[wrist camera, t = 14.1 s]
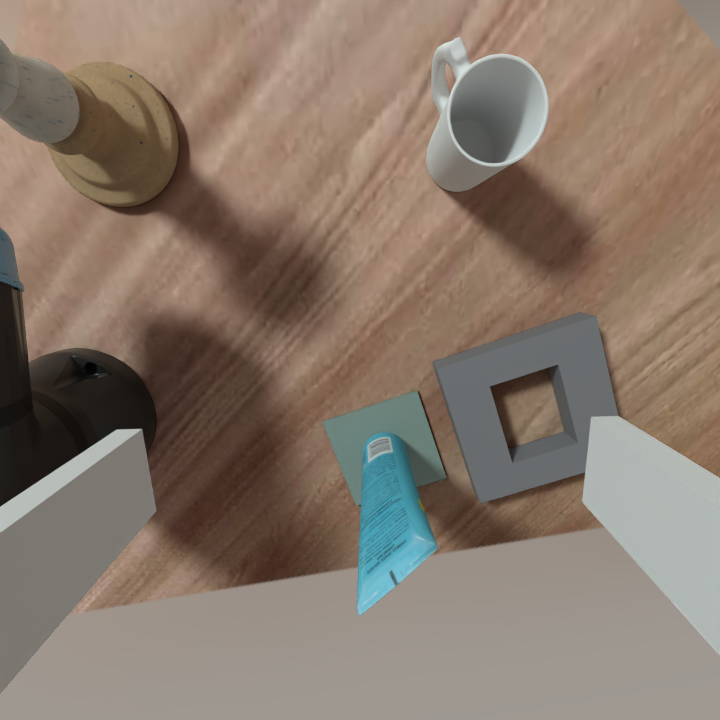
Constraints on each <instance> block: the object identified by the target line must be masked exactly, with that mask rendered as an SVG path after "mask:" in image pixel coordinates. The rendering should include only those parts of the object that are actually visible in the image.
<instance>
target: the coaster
mask: <svg viewBox="0 0 720 720" xmlns="http://www.w3.org/2000/svg"><path fill="white" fill-rule="evenodd" d="M323 425H324V427H325V430H326V432H327V435H328V437H329V440H330V442H331V445H332V447H333V450H334V452H335V455H336V457H337V459H338V462H339V464H340V467H341V469H342V472H343V474H344V477H345V479H346V482H347V484H348V487H349V489H350V492H351V494H352V497H353V499H354V502H355V504H356V506H357V505H361V492H362V461H363V448H364V445H365V443H366V442H367V440H368V439H369V438H370V437H372V436H373V435H375V434H378V433H383V432H388V433H392V434H394V435H396V436H398V437H399V438H400V439H401V440H402V441H403V442H404V444H405V447H406V450H407V454H408V458H409V462H410V466H411V469H412V473H413V476H414V479H415V483H416V486H417V487H420V486H423V485H426V484H429V483H433V482H436V481H439V480H442V479H446V478H447V477H446V474H445V471H444V469H443V466H442V463H441V460H440V457H439V454H438V451H437V448H436V445H435V442H434V439H433V436H432V433H431V430H430V427H429V424H428V421H427V418H426V415H425V412H424V409H423V406H422V403H421V401H420V398H419V395H418V392H417V390H416V391H413V392H410V393H407V394H404V395H401V396H398V397H395V398H392V399H389V400H386V401H383V402H380V403H377V404H374V405H371V406H368V407H365V408H362V409H359V410H356V411H353V412H350V413H347V414H344V415H341V416H338V417H334V418H331V419H328V420H325V421H323Z"/></svg>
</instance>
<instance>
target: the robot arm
mask: <svg viewBox="0 0 720 720" xmlns="http://www.w3.org/2000/svg"><path fill="white" fill-rule="evenodd" d="M23 291H24V286H23V284H22V283H21V282H20V280H19V275H18V270H17V264H16V258H15V252H14V246H13V243H12V241H11V239H10V237H9V236H8V234H7V233H6V232H5V231H4V230H3V229H2V228H0V693H1V692H2V691H3V690H4V689H5V688H6V687H7V685H8V684H9V683H10V682H11V681H12V680H13V678H14V677H15V676H16V675H17V674H18V672H19V671H20V670H21V669H22V668H23V667H24V665H25V664H26V663H27V662H28V661H29V660H30V658H31V657H32V656H33V655H34V654H35V653H36V651H37V650H38V649H39V648H40V647H41V645H42V644H43V643H44V642H45V641H46V640H47V639H48V637H49V636H50V635H51V634H52V633H53V632H54V630H55V629H56V628H57V627H58V626H59V624H60V623H61V622H62V621H63V620H64V619H65V617H66V616H67V615H68V614H69V613H70V612H71V610H72V609H73V608H74V607H75V606H76V605H77V603H78V602H79V601H80V600H81V599H82V598H83V596H84V595H85V594H86V593H87V592H88V591H89V589H90V588H91V587H92V586H93V585H94V584H95V582H96V581H97V580H98V579H99V578H100V577H101V575H102V574H103V573H104V572H105V571H106V570H107V568H108V567H109V566H110V565H111V564H112V563H113V561H114V560H115V559H116V558H117V557H118V555H119V554H120V553H121V552H122V551H123V550H124V548H125V547H126V546H127V545H128V544H129V543H130V541H131V540H132V539H133V538H134V537H135V536H136V534H137V533H138V532H139V531H140V530H141V529H142V527H143V526H144V525H145V524H146V523H147V522H148V520H149V519H150V518H151V517H152V516H153V515H154V513H155V512H156V505H155V500H154V494H153V488H152V482H151V477H150V471H149V465H148V460H147V454H146V453H147V451H148V450H149V448H150V446H151V444H152V442H153V439H154V436H155V431H156V414H155V408H154V404H153V401H152V399H151V396H150V394H149V392H148V390H147V388H146V387H145V385H144V384H143V382H142V381H141V380H140V378H139V377H138V376H137V375H136V374H135V373H134V372H133V371H132V370H131V369H130V368H129V367H127V366H126V365H125V364H124V363H122V362H121V361H119V360H117V359H116V358H114V357H112V356H110V355H107V354H105V353H102V352H99V351H96V350H91V349H83V348H72V349H65V350H61V351H57V352H54V353H50V354H47V355H44V356H41V357H39V358H37V359H35V360H33V361H31V362H28V351H27V341H26V331H25V320H24V310H23V299H22V292H23ZM582 502H583V503H584V504H585V506H586V507H587V508H588V509H589V510H590V511H591V512H592V513H593V515H594V516H595V517H596V518H597V519H598V520H599V521H600V522H601V523H602V525H603V526H604V527H605V528H606V529H607V530H608V531H609V532H610V533H611V534H612V536H613V537H614V538H615V539H616V540H617V541H618V542H619V543H620V545H621V546H622V547H623V548H624V549H625V550H626V551H627V552H628V554H629V555H630V556H631V557H632V558H633V559H634V560H635V561H636V562H637V564H638V565H639V566H640V567H641V568H642V569H643V570H644V571H645V573H646V574H647V575H648V576H649V577H650V578H651V579H652V580H653V582H654V583H655V584H656V585H657V586H658V587H659V588H660V589H661V590H662V592H663V593H664V594H665V595H666V596H667V597H668V598H669V599H670V601H671V602H672V603H673V604H674V605H675V606H676V607H677V608H678V609H679V610H680V612H681V613H682V614H683V615H684V616H685V617H686V618H687V620H688V621H689V622H690V623H691V624H692V625H693V626H694V627H695V628H696V630H698V632H699V633H700V634H701V635H702V636H703V637H704V638H705V640H706V641H707V642H708V643H709V644H710V645H711V646H712V647H713V649H714V650H715V651H716V652H717V653H718V654H719V655H720V478H719V477H717V476H715V475H714V474H712V473H710V472H709V471H707V470H706V469H704V468H702V467H701V466H699V465H697V464H696V463H694V462H692V461H691V460H689V459H688V458H686V457H684V456H683V455H681V454H679V453H678V452H676V451H675V450H673V449H671V448H670V447H668V446H666V445H665V444H663V443H661V442H660V441H658V440H657V439H655V438H653V437H652V436H650V435H648V434H647V433H645V432H643V431H642V430H640V429H639V428H637V427H635V426H634V425H632V424H630V423H629V422H627V421H626V420H624V419H622V418H621V417H619V416H599V417H591V422H590V432H589V442H588V452H587V461H586V471H585V481H584V491H583V500H582Z"/></svg>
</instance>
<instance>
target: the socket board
mask: <svg viewBox="0 0 720 720" xmlns="http://www.w3.org/2000/svg"><path fill="white" fill-rule="evenodd" d="M432 363H433V366H434V369H435V372H436V375H437V379H438V382H439V385H440V388H441V391H442V394H443V397H444V400H445V403H446V406H447V409H448V413H449V416H450V419H451V422H452V425H453V428H454V431H455V434H456V437H457V440H458V443H459V446H460V450H461V453H462V456H463V459H464V462H465V465H466V468H467V471H468V474H469V477H470V480H471V484H472V487H473V489H474V491H475V494H476V496H477V498H478V500H479V502H480V503H484V502H487V501H490V500H494V499H497V498H500V497H504V496H507V495H510V494H514V493H517V492H521V491H524V490H527V489H531V488H534V487H537V486H541V485H544V484H548V483H551V482H554V481H558V480H561V479H564V478H568V477H571V476H575V475H578V474H581V473H585V471H586V461H587V452H588V442H589V432H590V422H591V417H599V416H618V412H617V407H616V403H615V398H614V394H613V389H612V385H611V380H610V376H609V371H608V367H607V362H606V358H605V353H604V349H603V344H602V340H601V335H600V331H599V326H598V322H597V317H596V316H594V315H589V314H585V313H581V312H580V313H577V314H574V315H571V316H568V317H565V318H562V319H559V320H556V321H553V322H550V323H547V324H544V325H541V326H538V327H535V328H532V329H529V330H526V331H523V332H520V333H517V334H514V335H511V336H508V337H505V338H502V339H499V340H496V341H493V342H490V343H487V344H484V345H481V346H478V347H475V348H472V349H469V350H466V351H463V352H461V353H458V354H455V355H452V356H449V357H446V358H443V359H440V360H437V361H434V362H432ZM545 368H548V369H549V373H550V377H551V381H552V385H553V389H554V393H555V397H556V401H557V404H558V408H559V412H560V416H561V420H562V424H563V428H564V432H562V433H559V434H555V435H552V436H549V437H546V438H542V439H539V440H536V441H533V442H529V443H526V444H523V445H520V446H516V447H513V448H510V449H508V447H507V443H506V440H505V436H504V433H503V430H502V426H501V423H500V419H499V416H498V413H497V409H496V406H495V402H494V399H493V396H492V392H491V389H490V386H493V385H496V384H499V383H502V382H505V381H508V380H512V379H515V378H518V377H521V376H524V375H527V374H530V373H533V372H536V371H539V370H542V369H545Z"/></svg>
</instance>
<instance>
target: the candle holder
mask: <svg viewBox="0 0 720 720" xmlns="http://www.w3.org/2000/svg"><path fill="white" fill-rule="evenodd" d="M0 118H1V119H2V120H4V121H5V122H6V123H7V124H8V125H10V126H11V127H12V128H13V129H15V130H16V131H17V132H18V133H20V134H21V135H23V136H25V137H26V138H28V139H31V140H33V141H36V142H41V143H44V144H45V145H47V147H48V150H49V153H50V155H51V158H52V160H53V162H54V163H55V165H56V167H57V169H58V170H59V172H60V173H61V174H62V176H63V177H64V178H65V179H66V180H67V181H68V182H69V183H70V184H71V185H72V186H73V188H75V189H76V190H77V191H79V192H80V193H81V194H83V195H84V196H86V197H88V198H90V199H91V200H94V201H96V202H99V203H101V204H105V205H109V206H115V207H129V206H135V205H139V204H142V203H145V202H147V201H149V200H151V199H153V198H154V197H155V196H157V195H158V194H159V193H160V192H161V191H162V190H163V189H164V188H165V187H166V185H167V184H168V182H169V181H170V179H171V178H172V175H173V173H174V171H175V168H176V164H177V160H178V152H179V141H178V133H177V128H176V124H175V121H174V118H173V115H172V113H171V111H170V109H169V107H168V105H167V103H166V102H165V100H164V99H163V97H162V96H161V94H160V93H159V92H158V91H157V90H156V89H155V88H154V86H153V85H152V84H151V83H149V82H148V81H147V80H146V79H145V78H143V77H142V76H141V75H139V74H137V73H136V72H134V71H133V70H131V69H128V68H126V67H124V66H121V65H118V64H114V63H108V62H93V63H86V64H83V65H80V66H77V67H76V68H74V69H72V70H70V71H69V72H67V73H62V72H61V71H60V70H58V69H57V68H56V67H54V66H53V65H51V64H50V63H48V62H46V61H43V60H41V59H38V58H33V57H29V56H23V55H18V54H14V53H11V51H10V50H9V48H8V47H7V46H6V44H5V43H3V41H2V40H1V39H0Z"/></svg>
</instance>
